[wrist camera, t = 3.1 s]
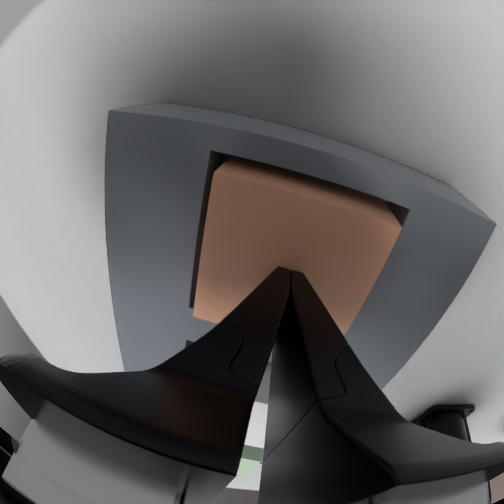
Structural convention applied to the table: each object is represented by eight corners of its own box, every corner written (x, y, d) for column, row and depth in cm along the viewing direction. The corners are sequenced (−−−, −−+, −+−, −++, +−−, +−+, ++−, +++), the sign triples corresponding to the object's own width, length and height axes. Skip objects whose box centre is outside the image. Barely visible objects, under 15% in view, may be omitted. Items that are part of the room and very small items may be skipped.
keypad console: (453, 187, 11) (496, 224, 8) (294, 432, 24) (291, 468, 21) (160, 102, 11) (108, 110, 8) (154, 396, 25) (140, 429, 21)
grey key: (309, 368, 13) (307, 411, 11) (277, 415, 16) (272, 449, 14) (196, 339, 13) (180, 380, 11) (190, 393, 16) (178, 426, 14)
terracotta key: (382, 197, 10) (402, 227, 8) (331, 310, 13) (333, 352, 11) (233, 154, 10) (213, 172, 8) (210, 278, 13) (192, 316, 11)
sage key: (265, 431, 18) (260, 461, 16) (249, 452, 21) (244, 477, 19) (188, 411, 18) (178, 441, 16) (186, 436, 21) (178, 460, 19)
